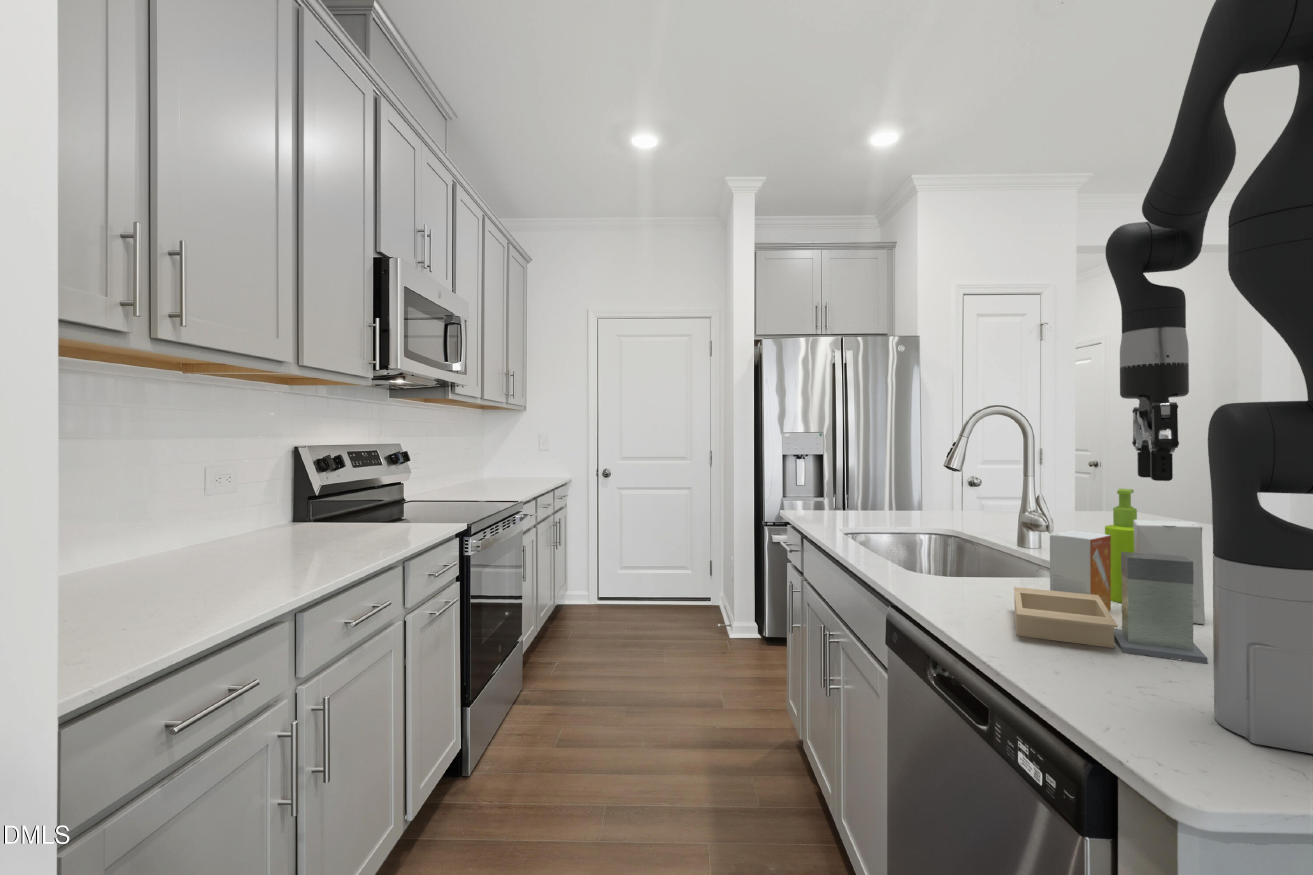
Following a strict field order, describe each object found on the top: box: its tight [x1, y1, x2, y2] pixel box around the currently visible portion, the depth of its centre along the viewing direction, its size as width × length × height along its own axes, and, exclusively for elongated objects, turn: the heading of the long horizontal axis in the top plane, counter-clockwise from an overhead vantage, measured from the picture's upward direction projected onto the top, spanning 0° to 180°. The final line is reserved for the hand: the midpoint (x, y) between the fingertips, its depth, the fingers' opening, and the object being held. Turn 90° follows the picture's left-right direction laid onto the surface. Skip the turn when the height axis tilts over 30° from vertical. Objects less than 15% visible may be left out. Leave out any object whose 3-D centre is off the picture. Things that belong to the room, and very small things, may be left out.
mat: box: [1114, 628, 1209, 665], centre depth 86 cm, size 9×9×1 cm
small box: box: [1049, 530, 1112, 612], centre depth 104 cm, size 8×6×13 cm
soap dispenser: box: [1104, 488, 1138, 604], centre depth 110 cm, size 6×7×20 cm
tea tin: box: [1121, 552, 1194, 651], centre depth 86 cm, size 5×7×12 cm, turn 61°
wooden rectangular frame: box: [1013, 586, 1119, 649], centre depth 94 cm, size 18×12×4 cm, turn 151°
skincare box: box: [1133, 519, 1206, 625], centre depth 100 cm, size 8×7×16 cm
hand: (1154, 478), depth 86 cm, fingers open, 8 cm apart
